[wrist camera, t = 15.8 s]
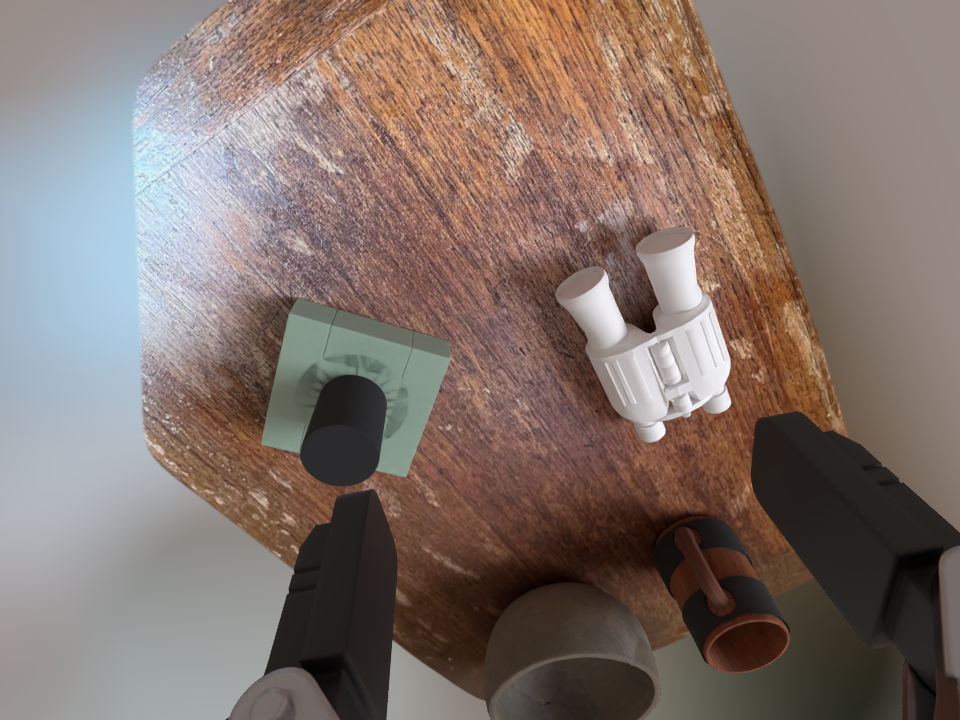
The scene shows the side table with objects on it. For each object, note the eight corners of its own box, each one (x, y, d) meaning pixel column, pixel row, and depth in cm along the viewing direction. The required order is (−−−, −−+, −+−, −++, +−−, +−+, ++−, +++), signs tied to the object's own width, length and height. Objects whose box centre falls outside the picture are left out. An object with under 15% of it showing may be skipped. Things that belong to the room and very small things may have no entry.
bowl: (545, 679, 66) (562, 773, 57) (445, 615, 59) (446, 710, 50) (663, 610, 61) (701, 701, 53) (569, 532, 54) (595, 622, 46)
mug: (702, 477, 52) (767, 577, 42) (743, 547, 57) (810, 652, 47) (622, 516, 54) (666, 622, 44) (669, 581, 59) (718, 689, 49)
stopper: (318, 403, 45) (293, 477, 37) (332, 350, 42) (308, 416, 34) (380, 418, 46) (368, 493, 38) (397, 367, 44) (388, 435, 35)
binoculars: (676, 216, 40) (704, 234, 36) (731, 379, 47) (759, 409, 43) (548, 282, 41) (560, 306, 37) (619, 429, 49) (636, 463, 44)
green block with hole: (269, 423, 46) (259, 444, 43) (297, 297, 40) (288, 312, 38) (407, 455, 48) (405, 477, 46) (449, 340, 43) (450, 358, 40)
